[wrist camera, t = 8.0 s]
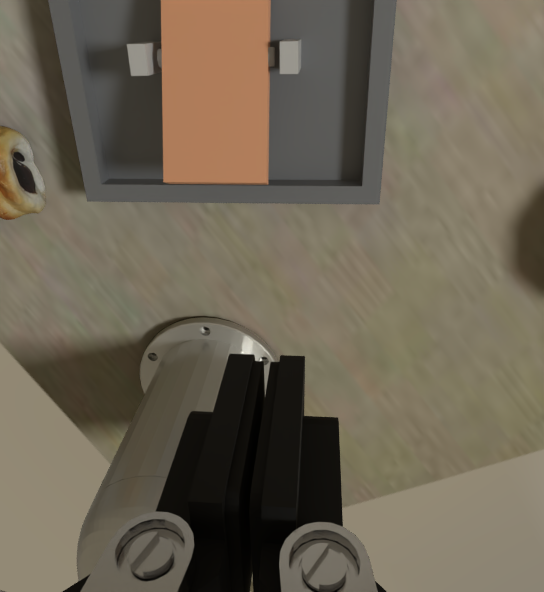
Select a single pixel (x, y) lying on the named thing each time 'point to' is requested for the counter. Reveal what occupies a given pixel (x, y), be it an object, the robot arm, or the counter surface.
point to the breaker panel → (282, 101)
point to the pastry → (18, 177)
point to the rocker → (215, 91)
